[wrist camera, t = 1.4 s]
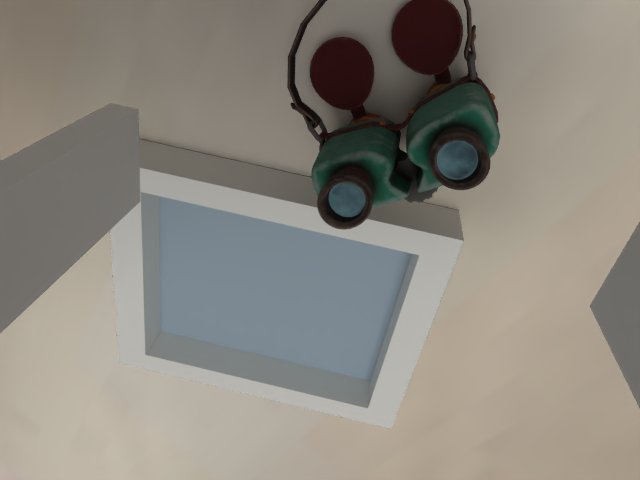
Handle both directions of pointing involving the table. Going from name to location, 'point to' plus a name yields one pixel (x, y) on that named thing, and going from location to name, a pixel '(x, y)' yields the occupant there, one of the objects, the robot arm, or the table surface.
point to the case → (276, 285)
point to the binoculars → (384, 136)
